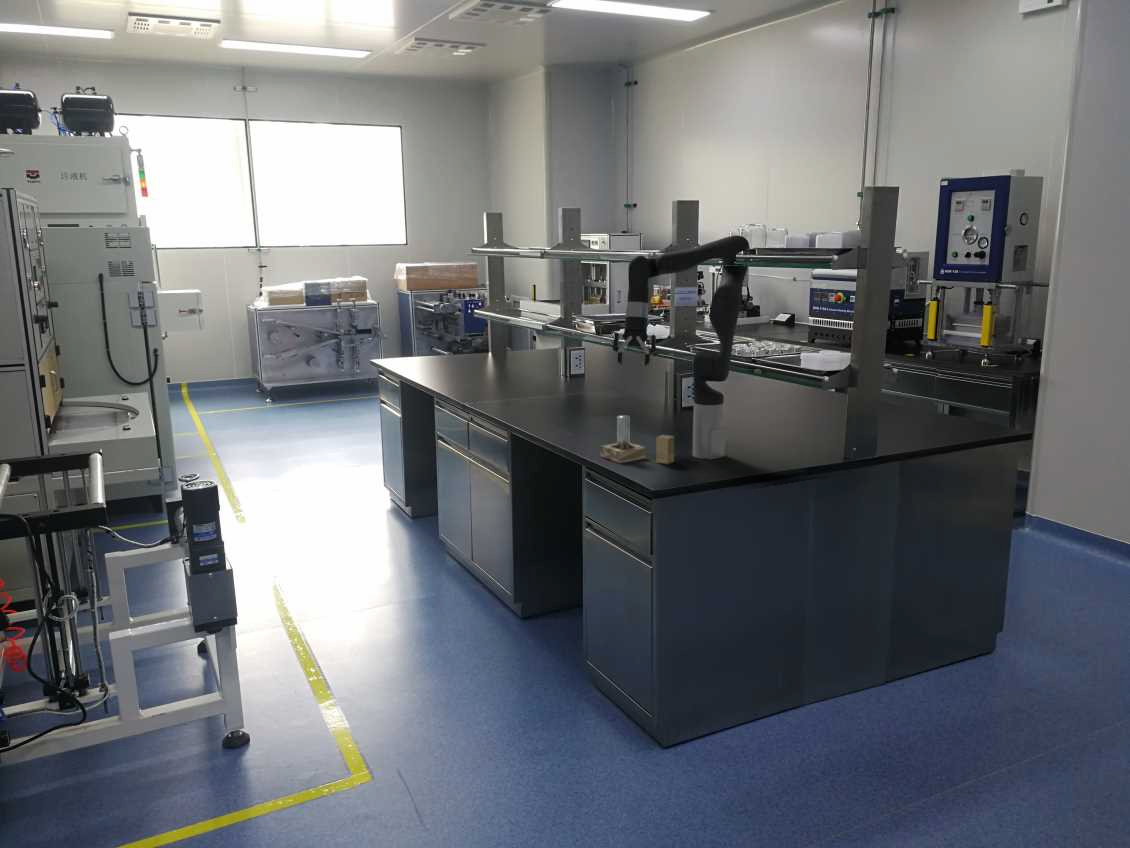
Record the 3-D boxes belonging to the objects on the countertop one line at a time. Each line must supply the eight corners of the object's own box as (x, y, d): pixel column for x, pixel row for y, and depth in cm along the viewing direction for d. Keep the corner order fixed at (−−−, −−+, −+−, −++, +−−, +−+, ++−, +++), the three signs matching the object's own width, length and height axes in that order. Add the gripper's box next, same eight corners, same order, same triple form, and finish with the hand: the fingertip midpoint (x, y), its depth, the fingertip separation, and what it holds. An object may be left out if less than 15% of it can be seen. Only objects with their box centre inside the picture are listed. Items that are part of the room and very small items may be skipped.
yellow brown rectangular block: (673, 461, 264) (674, 436, 262) (667, 464, 260) (668, 438, 259) (662, 459, 266) (662, 434, 264) (656, 462, 263) (656, 437, 261)
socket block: (645, 458, 268) (645, 447, 267) (620, 463, 262) (620, 452, 261) (625, 451, 276) (625, 441, 275) (600, 456, 270) (600, 445, 269)
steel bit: (632, 454, 268) (632, 416, 266) (622, 455, 266) (622, 418, 263) (624, 451, 271) (624, 414, 269) (614, 453, 269) (614, 416, 267)
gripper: (659, 318, 287) (655, 366, 288) (617, 316, 290) (614, 364, 291) (656, 316, 280) (652, 365, 280) (613, 314, 283) (610, 363, 284)
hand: (633, 365), depth 286 cm, fingers open, 8 cm apart
